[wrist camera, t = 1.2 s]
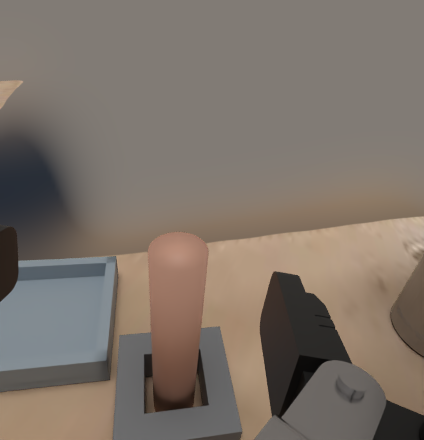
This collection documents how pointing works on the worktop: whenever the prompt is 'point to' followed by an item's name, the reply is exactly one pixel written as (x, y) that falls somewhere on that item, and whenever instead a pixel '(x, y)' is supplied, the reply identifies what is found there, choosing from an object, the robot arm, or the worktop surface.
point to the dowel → (176, 316)
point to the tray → (58, 323)
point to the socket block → (181, 418)
